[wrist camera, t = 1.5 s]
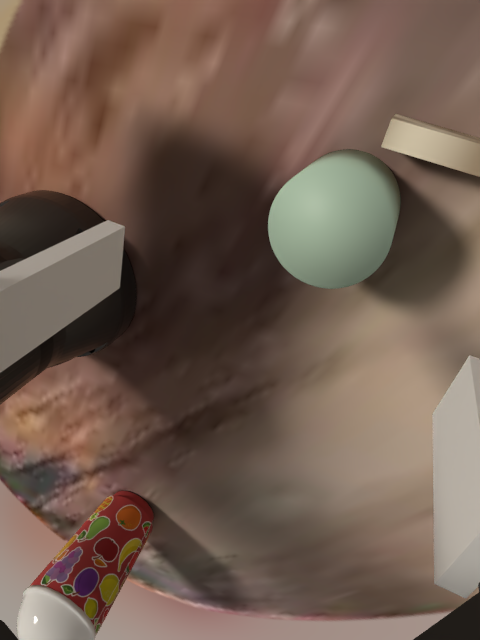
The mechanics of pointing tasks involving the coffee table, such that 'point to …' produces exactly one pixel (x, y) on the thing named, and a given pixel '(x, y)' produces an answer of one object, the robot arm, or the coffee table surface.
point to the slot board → (434, 144)
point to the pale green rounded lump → (335, 219)
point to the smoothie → (86, 573)
